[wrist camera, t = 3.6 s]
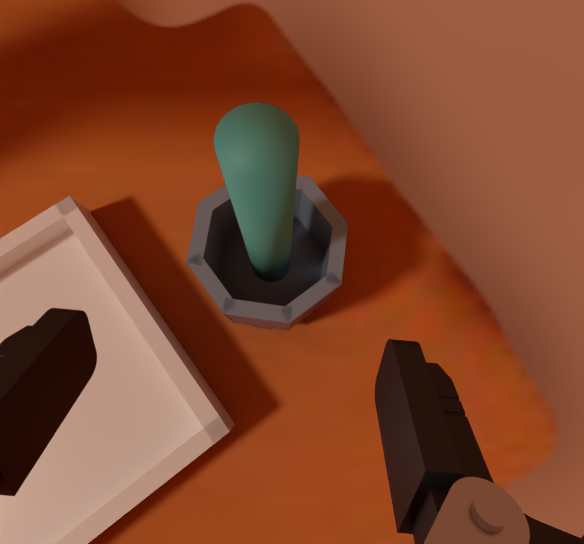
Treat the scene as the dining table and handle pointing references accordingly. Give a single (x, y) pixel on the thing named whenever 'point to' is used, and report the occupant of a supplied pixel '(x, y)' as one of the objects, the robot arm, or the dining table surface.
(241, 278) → the cup
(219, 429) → the tray
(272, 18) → the dining table surface
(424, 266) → the dining table surface
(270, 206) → the green rounded rod
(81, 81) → the dining table surface
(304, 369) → the dining table surface
